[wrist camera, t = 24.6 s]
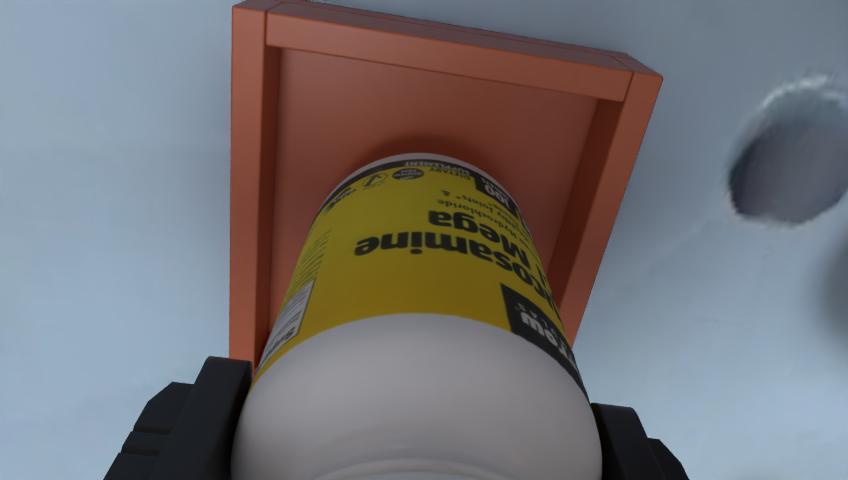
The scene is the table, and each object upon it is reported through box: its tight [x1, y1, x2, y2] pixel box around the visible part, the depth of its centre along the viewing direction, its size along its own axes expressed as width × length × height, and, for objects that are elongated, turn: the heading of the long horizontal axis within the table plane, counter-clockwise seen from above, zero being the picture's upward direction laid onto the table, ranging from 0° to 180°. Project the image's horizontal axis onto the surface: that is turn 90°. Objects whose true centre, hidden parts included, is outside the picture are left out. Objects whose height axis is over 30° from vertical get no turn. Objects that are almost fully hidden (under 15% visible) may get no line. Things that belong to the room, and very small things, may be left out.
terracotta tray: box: [229, 0, 663, 381], centre depth 18 cm, size 11×12×3 cm
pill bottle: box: [230, 153, 602, 480], centre depth 12 cm, size 6×6×11 cm
